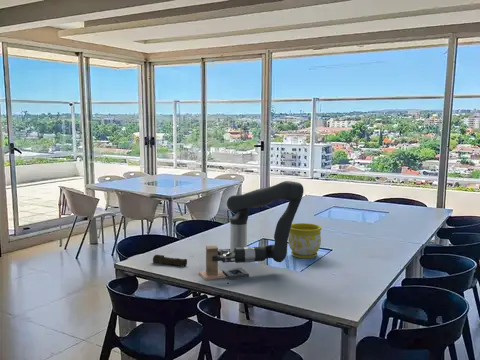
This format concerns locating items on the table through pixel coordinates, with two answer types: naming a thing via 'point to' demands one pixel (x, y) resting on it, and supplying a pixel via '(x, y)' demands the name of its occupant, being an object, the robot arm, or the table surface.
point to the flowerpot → (304, 240)
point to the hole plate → (234, 276)
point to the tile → (208, 277)
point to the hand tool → (169, 260)
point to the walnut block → (211, 265)
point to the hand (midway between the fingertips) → (211, 256)
